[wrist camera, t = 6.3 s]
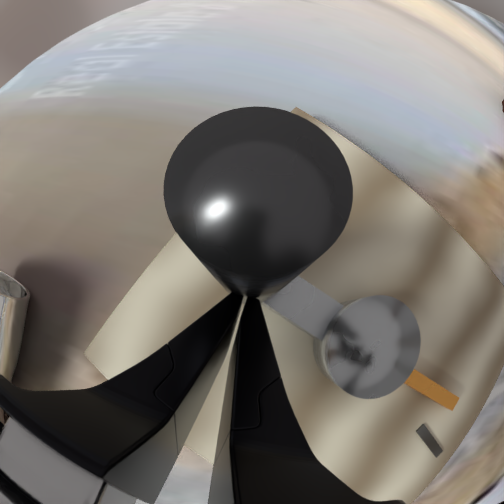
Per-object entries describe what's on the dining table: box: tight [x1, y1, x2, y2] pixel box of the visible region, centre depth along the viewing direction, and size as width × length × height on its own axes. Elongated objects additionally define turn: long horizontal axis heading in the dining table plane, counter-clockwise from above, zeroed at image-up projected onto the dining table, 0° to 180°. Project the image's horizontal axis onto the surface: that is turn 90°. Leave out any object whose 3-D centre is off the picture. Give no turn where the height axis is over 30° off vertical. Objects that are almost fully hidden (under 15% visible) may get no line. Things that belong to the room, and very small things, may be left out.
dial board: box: [84, 107, 504, 504], centre depth 15 cm, size 26×22×2 cm
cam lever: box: [164, 107, 459, 411], centre depth 9 cm, size 18×5×11 cm, turn 56°
